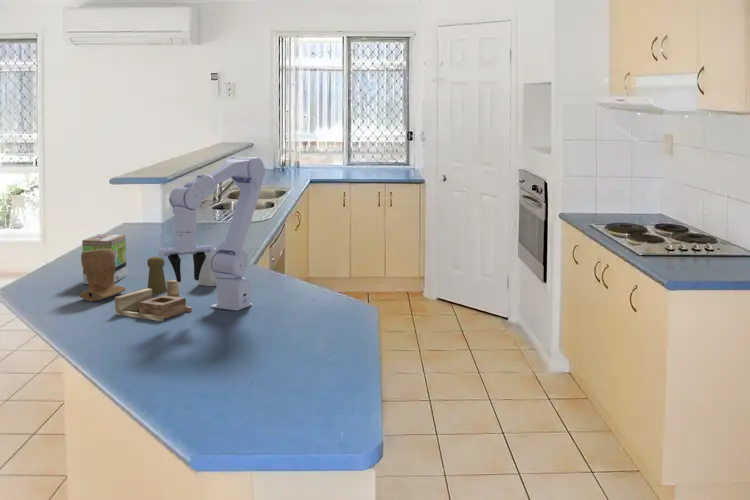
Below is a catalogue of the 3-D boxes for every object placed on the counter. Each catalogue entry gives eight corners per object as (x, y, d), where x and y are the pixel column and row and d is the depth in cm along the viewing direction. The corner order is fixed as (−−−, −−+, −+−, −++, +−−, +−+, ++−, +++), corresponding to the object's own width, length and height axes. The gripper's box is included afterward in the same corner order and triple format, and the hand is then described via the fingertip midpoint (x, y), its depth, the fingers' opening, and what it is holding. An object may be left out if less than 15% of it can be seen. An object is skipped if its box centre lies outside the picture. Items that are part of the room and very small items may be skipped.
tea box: (113, 285, 270) (111, 240, 268) (82, 284, 270) (80, 240, 268) (127, 276, 285) (125, 233, 283) (98, 275, 285) (96, 233, 283)
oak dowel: (181, 303, 244) (181, 280, 243) (174, 306, 241) (173, 282, 240) (172, 302, 246) (171, 279, 245) (165, 305, 243) (164, 281, 242)
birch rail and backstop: (192, 311, 236) (191, 293, 235) (161, 321, 224) (161, 303, 223) (147, 305, 243) (146, 288, 242) (115, 314, 231) (114, 297, 230)
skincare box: (220, 284, 272) (219, 248, 270) (211, 286, 268) (210, 250, 266) (206, 282, 275) (205, 246, 273) (197, 284, 271) (196, 248, 269)
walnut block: (186, 311, 235) (185, 298, 234) (162, 319, 226) (161, 305, 225) (163, 308, 238) (163, 295, 238) (139, 316, 229) (139, 302, 229)
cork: (159, 288, 265) (157, 254, 263) (171, 291, 261) (169, 256, 259) (143, 291, 260) (141, 257, 258) (154, 294, 257) (153, 259, 255)
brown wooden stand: (97, 291, 261) (95, 244, 259) (131, 293, 258) (129, 245, 256) (68, 301, 247) (65, 251, 244) (103, 304, 244) (100, 253, 241)
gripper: (208, 227, 231) (209, 275, 233) (155, 231, 225) (157, 280, 227) (215, 231, 225) (216, 280, 227) (161, 234, 218) (163, 285, 221)
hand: (187, 280), depth 227 cm, fingers open, 4 cm apart
